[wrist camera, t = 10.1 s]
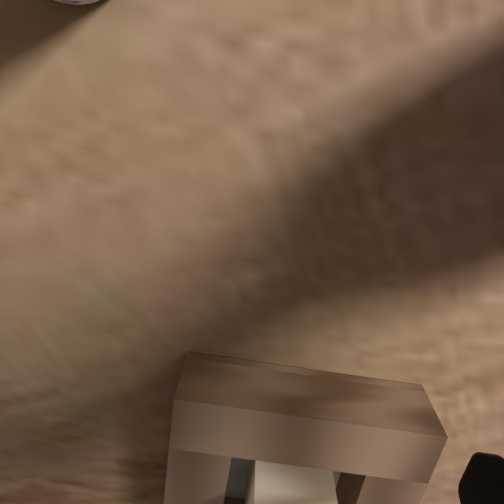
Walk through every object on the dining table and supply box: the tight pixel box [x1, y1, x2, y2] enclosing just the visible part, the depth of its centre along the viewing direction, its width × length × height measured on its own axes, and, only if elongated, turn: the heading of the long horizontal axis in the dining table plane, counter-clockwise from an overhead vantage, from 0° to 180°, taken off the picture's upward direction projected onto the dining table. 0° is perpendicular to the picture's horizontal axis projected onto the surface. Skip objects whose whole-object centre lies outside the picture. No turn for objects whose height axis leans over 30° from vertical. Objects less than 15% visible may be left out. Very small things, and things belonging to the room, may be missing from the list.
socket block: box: [163, 352, 448, 504], centre depth 23 cm, size 12×12×4 cm
